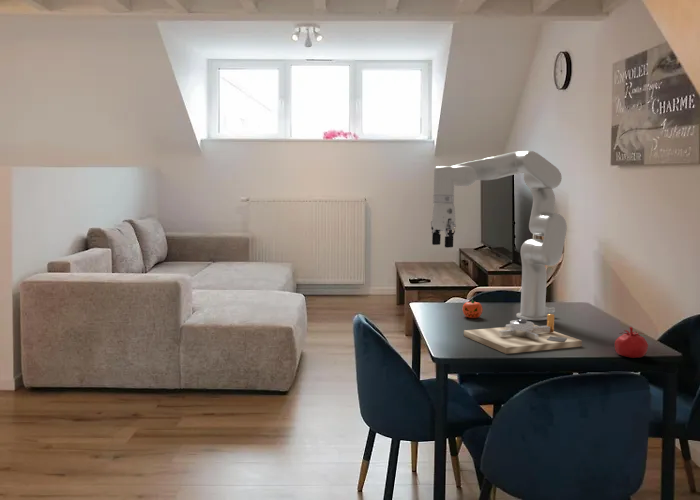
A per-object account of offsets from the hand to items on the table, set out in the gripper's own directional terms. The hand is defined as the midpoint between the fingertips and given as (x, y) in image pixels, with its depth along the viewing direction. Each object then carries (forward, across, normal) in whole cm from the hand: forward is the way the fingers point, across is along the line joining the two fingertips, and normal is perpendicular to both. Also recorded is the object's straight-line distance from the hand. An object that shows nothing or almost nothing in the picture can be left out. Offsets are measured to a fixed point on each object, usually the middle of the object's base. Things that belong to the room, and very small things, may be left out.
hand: (442, 245), depth 264 cm
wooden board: (+30, -30, -15) cm, 45 cm away
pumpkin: (+31, +10, -20) cm, 38 cm away
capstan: (+28, -30, -18) cm, 44 cm away
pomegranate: (+31, -58, -38) cm, 75 cm away
